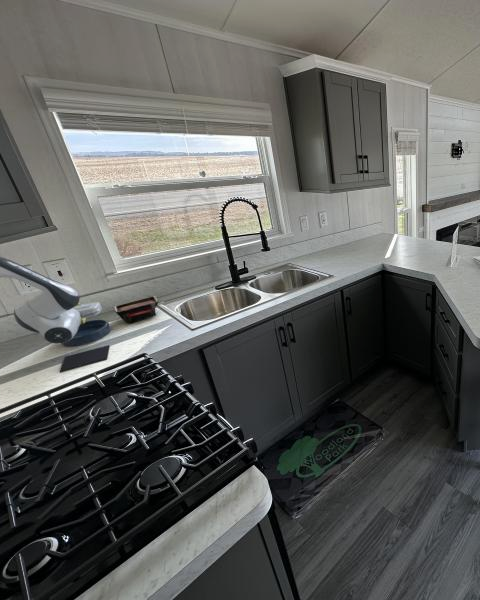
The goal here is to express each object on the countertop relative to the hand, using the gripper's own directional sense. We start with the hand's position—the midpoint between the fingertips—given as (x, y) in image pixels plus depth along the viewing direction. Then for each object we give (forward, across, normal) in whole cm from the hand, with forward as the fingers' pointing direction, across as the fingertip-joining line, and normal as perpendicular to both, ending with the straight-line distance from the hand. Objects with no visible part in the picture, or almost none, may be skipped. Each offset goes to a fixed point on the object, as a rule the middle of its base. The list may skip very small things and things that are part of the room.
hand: (72, 307), depth 141 cm
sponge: (-1, 0, +7) cm, 7 cm away
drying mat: (-23, -2, +15) cm, 28 cm away
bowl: (0, 0, +15) cm, 15 cm away
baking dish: (+9, -20, +15) cm, 26 cm away
